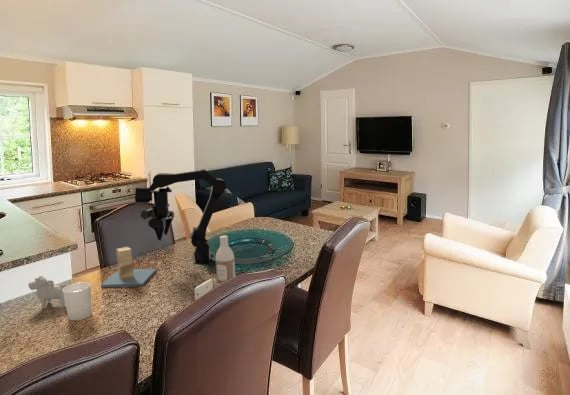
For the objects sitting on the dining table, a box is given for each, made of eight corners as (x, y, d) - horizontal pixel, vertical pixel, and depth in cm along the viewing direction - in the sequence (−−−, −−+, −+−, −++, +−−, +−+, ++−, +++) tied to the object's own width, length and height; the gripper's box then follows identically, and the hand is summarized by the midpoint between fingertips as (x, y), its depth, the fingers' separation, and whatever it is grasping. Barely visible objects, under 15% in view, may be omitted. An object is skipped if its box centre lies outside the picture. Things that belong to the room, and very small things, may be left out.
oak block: (133, 277, 152) (131, 249, 150) (122, 280, 149) (119, 251, 147) (130, 274, 156) (127, 246, 154) (119, 277, 153) (115, 248, 151)
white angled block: (224, 301, 125) (210, 280, 124) (200, 315, 127) (186, 293, 126) (227, 297, 129) (213, 275, 128) (203, 310, 131) (190, 289, 130)
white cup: (99, 311, 126) (95, 283, 124) (79, 323, 118) (75, 293, 116) (81, 308, 128) (77, 281, 126) (60, 319, 121) (56, 290, 119)
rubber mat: (156, 270, 162) (156, 268, 161) (142, 286, 146) (142, 283, 146) (119, 271, 162) (118, 269, 161) (101, 287, 146) (101, 284, 146)
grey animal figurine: (37, 302, 134) (33, 274, 132) (74, 301, 134) (70, 273, 132) (28, 309, 128) (23, 280, 126) (66, 308, 129) (62, 278, 127)
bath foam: (214, 289, 141) (210, 238, 137) (222, 282, 147) (219, 233, 144) (230, 291, 139) (228, 239, 135) (238, 284, 145) (236, 234, 142)
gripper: (149, 198, 172) (151, 231, 175) (134, 206, 154) (136, 243, 156) (173, 198, 173) (175, 231, 175) (162, 206, 154) (163, 243, 157)
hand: (162, 237), depth 166 cm, fingers open, 9 cm apart
